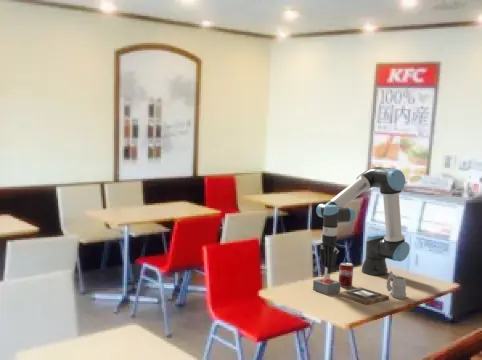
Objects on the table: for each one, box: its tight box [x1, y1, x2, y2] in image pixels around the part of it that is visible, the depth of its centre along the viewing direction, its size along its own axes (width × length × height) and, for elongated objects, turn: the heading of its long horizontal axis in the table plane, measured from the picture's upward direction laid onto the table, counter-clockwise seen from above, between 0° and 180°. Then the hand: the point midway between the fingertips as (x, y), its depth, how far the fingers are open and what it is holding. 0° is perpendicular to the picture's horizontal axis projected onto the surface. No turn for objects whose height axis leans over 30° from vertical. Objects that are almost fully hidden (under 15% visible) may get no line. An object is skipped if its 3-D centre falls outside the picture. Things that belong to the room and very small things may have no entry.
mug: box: [386, 270, 407, 300], centre depth 304 cm, size 8×12×12 cm, turn 35°
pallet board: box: [337, 287, 390, 306], centre depth 299 cm, size 18×18×2 cm
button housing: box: [312, 278, 341, 295], centre depth 308 cm, size 10×10×5 cm
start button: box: [321, 277, 333, 284], centre depth 308 cm, size 5×5×5 cm
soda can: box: [338, 262, 354, 288], centre depth 318 cm, size 7×7×12 cm
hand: (327, 279), depth 307 cm, fingers closed
